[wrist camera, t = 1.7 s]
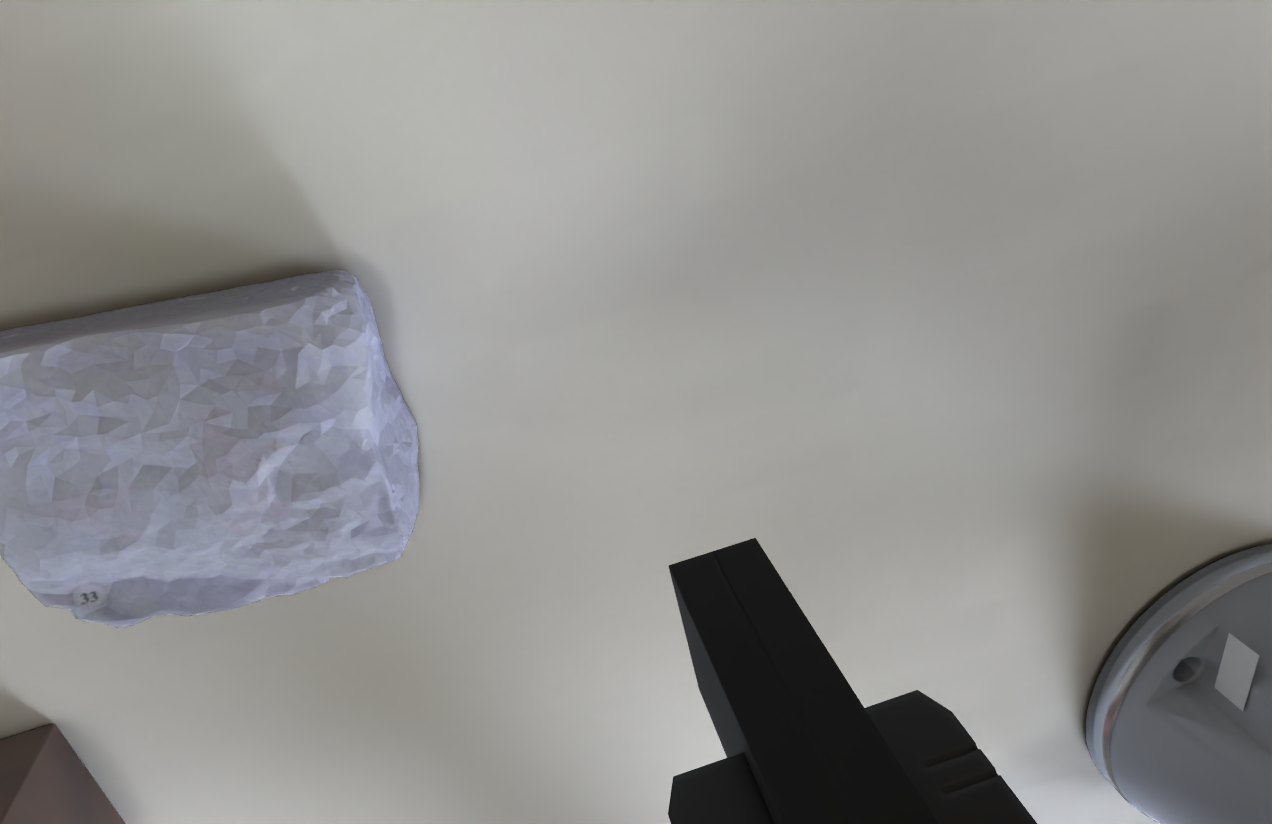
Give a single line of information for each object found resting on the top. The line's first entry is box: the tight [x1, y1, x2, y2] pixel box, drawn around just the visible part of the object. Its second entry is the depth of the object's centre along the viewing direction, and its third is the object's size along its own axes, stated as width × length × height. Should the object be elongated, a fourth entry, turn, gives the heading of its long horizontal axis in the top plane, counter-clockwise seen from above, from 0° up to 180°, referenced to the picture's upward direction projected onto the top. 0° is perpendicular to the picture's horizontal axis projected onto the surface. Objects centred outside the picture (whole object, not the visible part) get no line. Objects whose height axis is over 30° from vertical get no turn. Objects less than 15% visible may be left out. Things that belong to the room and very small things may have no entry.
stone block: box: [0, 270, 420, 628], centre depth 26 cm, size 12×5×10 cm
